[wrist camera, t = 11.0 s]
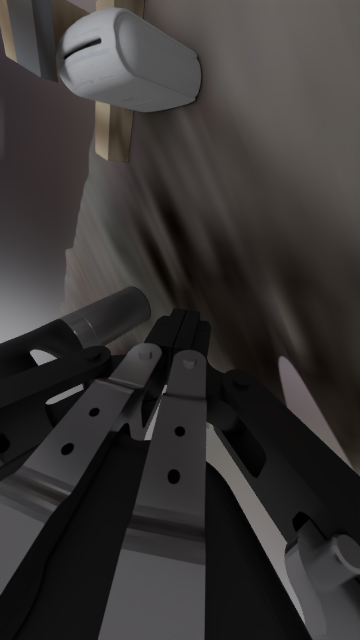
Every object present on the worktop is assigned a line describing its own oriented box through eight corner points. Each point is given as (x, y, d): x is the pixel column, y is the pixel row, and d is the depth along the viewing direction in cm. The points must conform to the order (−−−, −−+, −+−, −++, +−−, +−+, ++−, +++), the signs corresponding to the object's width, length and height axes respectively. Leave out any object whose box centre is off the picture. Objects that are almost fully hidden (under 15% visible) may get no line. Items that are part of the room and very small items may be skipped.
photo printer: (140, 116, 30) (52, 95, 22) (137, 71, 27) (36, 28, 19) (201, 106, 24) (114, 73, 16) (204, 48, 22) (103, -24, 14)
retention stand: (144, 173, 33) (53, 173, 24) (116, 153, 35) (20, 146, 26) (184, -78, 19) (-10, -325, 9) (132, -90, 20) (-75, -309, 11)
